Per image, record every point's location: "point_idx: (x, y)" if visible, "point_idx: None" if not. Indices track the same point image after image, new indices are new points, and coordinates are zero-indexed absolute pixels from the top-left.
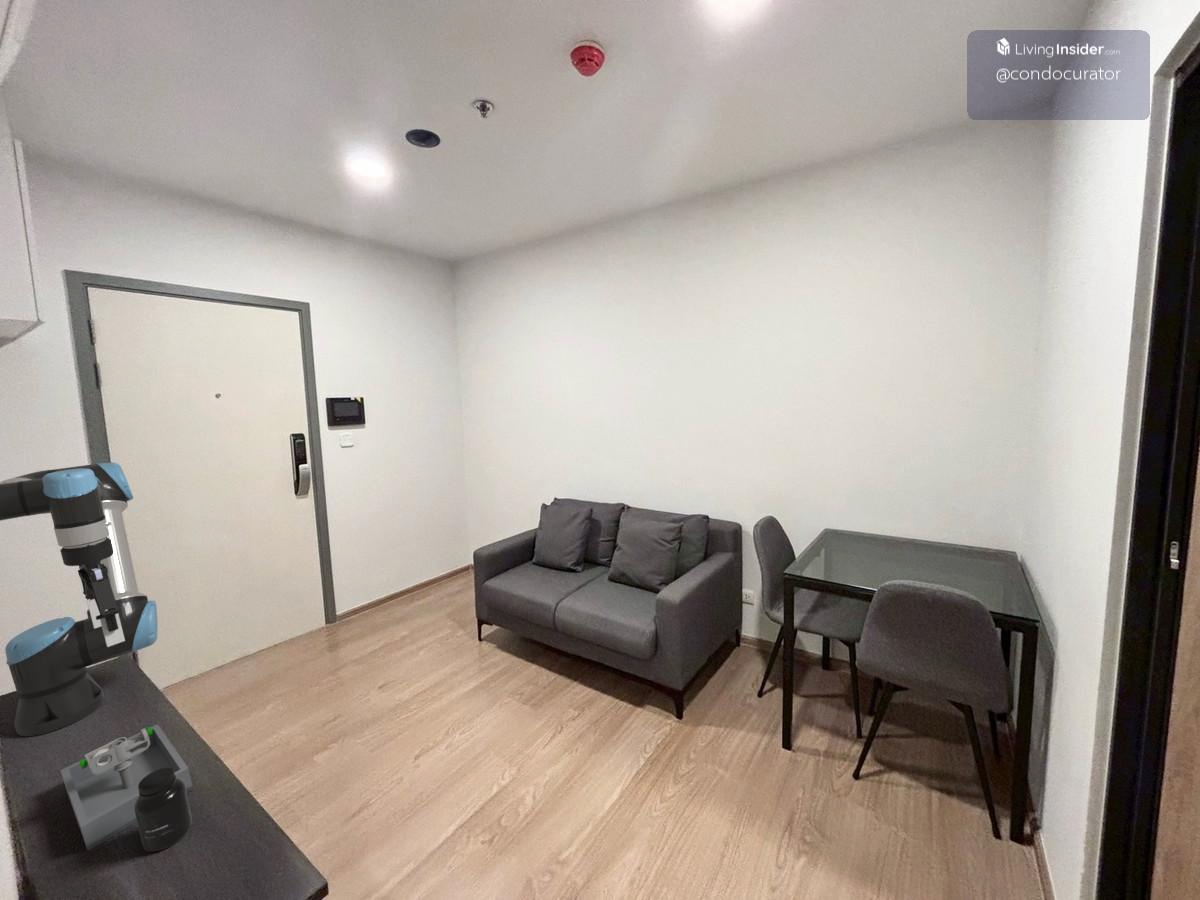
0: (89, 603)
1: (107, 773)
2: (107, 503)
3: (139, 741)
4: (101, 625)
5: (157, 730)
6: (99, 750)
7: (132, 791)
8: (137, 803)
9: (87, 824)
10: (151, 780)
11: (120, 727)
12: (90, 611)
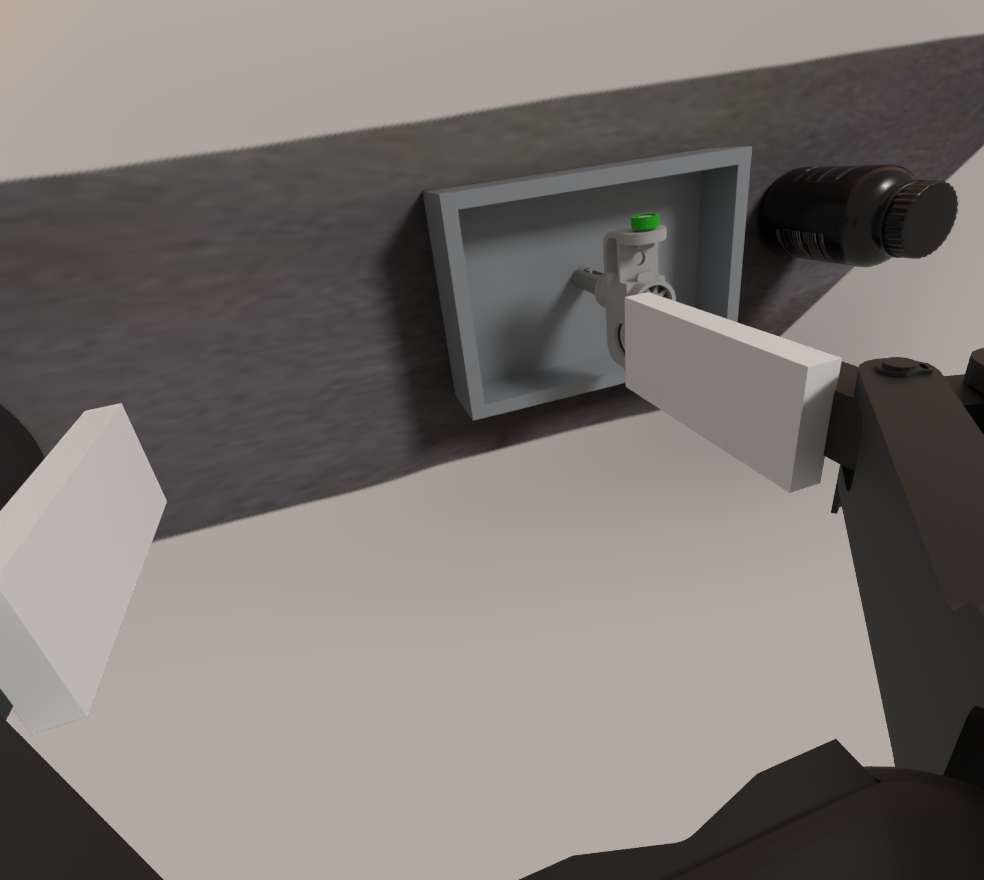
0: (91, 681)
1: (481, 322)
2: None
3: (648, 249)
4: (147, 464)
5: (482, 198)
6: None
7: None
8: (881, 261)
9: None
10: (928, 231)
11: (194, 300)
12: (126, 609)
